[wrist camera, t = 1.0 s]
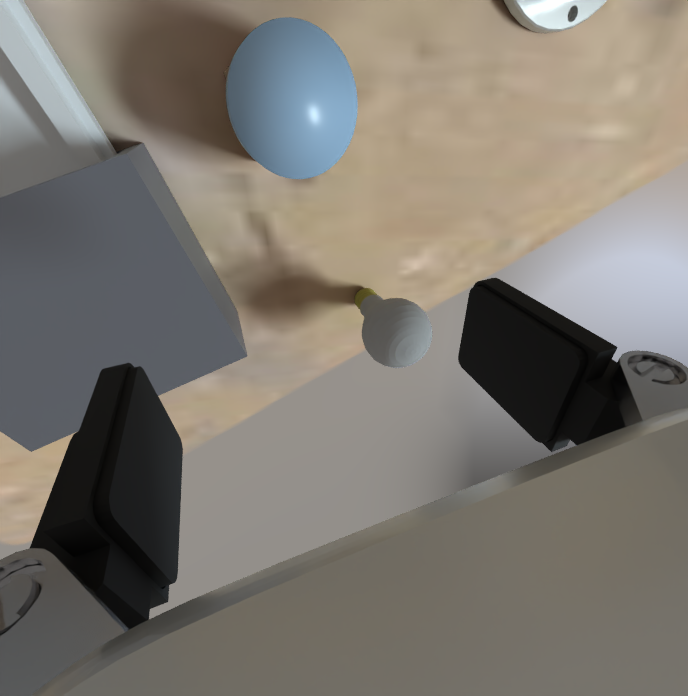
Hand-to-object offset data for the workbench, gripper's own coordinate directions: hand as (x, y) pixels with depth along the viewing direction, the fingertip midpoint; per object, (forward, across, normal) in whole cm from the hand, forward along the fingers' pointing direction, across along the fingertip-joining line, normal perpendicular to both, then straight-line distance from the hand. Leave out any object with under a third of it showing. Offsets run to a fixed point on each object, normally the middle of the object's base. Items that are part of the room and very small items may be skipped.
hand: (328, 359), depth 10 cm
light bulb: (+20, -9, +10) cm, 24 cm away
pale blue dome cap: (+16, -3, -6) cm, 17 cm away
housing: (+20, +12, +4) cm, 23 cm away
